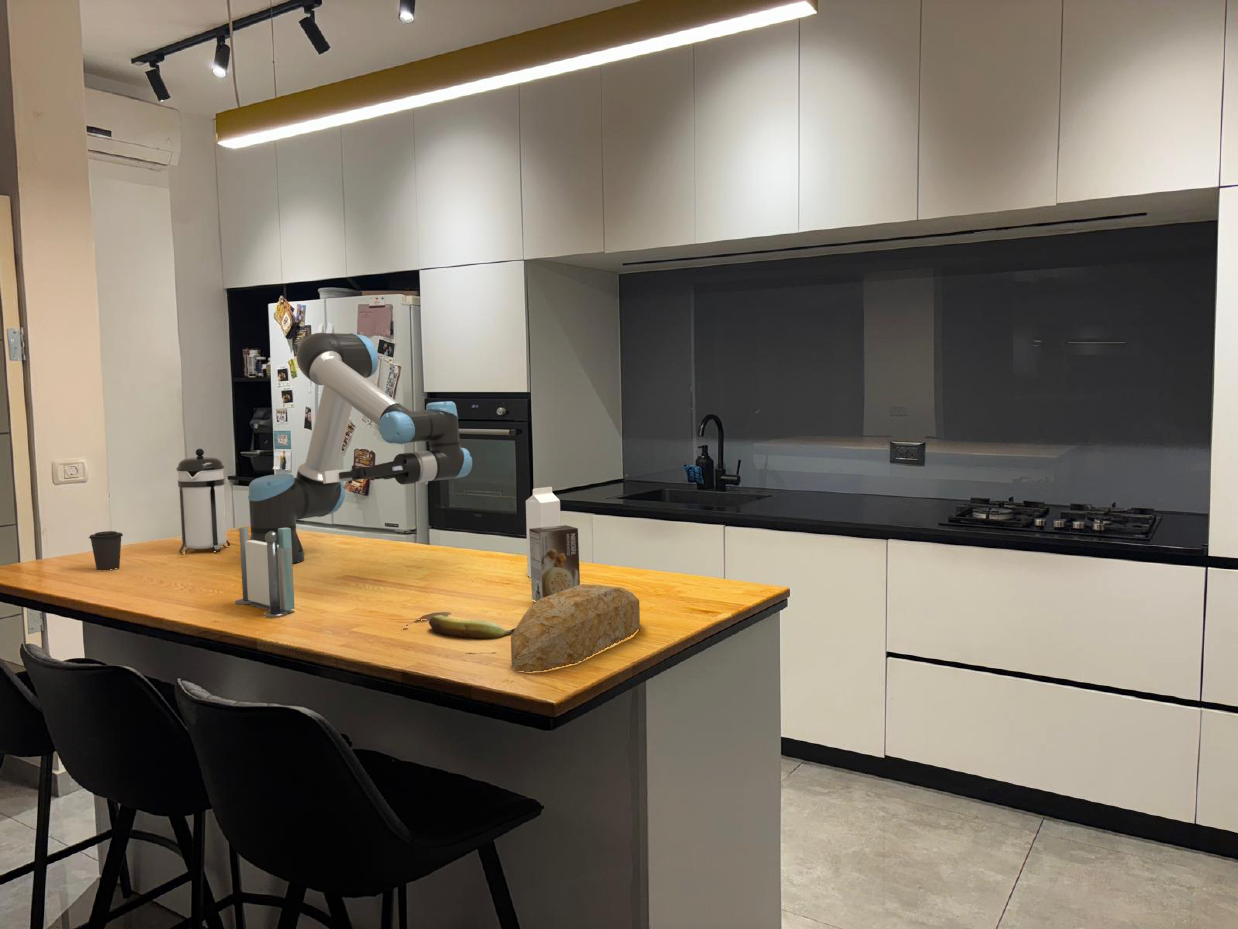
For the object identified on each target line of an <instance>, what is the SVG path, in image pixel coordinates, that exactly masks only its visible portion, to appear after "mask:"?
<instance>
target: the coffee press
mask: <svg viewBox="0 0 1238 929" xmlns="http://www.w3.org/2000/svg"><path fill="white" fill-rule="evenodd" d="M204 453H205V451H204V450H203V448H198V449H196V450H195V455H196V457H189V458H184V459H182V460H181V461H180V462H178V465H177V467H176V468H175V469H176V472H177V477H178V480H177V487H178V493H179V496H178V497H179V510H180V526H181V542H182V545H181V547H180V548H179V550H178V553H179V554H180V553H183V550H184V548H185V550H184V551H185V552H187V553H188V551H190V550H203V549H209V550H210V549H211V550H212V552H213V551H216V552H221V549H220V547H221V546H222V547H224V548H226V546H230V547H231V543H230V542H229V540H227V539H228V538H227V536H228V534H227V520H226V519H227V516H226V514H227V513H226V500H225V499H226V498H225V484H226V483H225V482H226V481H225V477H224V470H225V465H224V464H223V461H222V460H220V459H219V458H217V457H211V456H210V457H209V456H204ZM226 544H227V545H226Z"/></svg>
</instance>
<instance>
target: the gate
mask: <svg viewBox="0 0 1238 929" xmlns="http://www.w3.org/2000/svg"><path fill="white" fill-rule="evenodd" d="M238 530H239V548H240V551H239V552H240V567H241V569H240V570H241V585H242V586H241V588H242V599H243V600H244V601H247V600H250V601H254V602H258V603H261V604H265V605H269V606H270V598H269V578H268V558H267V543H266V542H261V541H255V540H250V537H249V527H247V526H245V527H239V528H238ZM249 540H250V541H249ZM278 544H279V545H277V551H278V572H279V593H280V609H284V610H294V609H295V607H296V606H295V592H294V591H295V590H294V589H295V587H294V570H293V569H294V568H293V564H292V544H291V528H279V529H278Z"/></svg>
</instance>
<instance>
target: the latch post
mask: <svg viewBox="0 0 1238 929" xmlns="http://www.w3.org/2000/svg"><path fill="white" fill-rule="evenodd" d="M265 540H266V542H267V558H268V578H269V598H270V611H268V612H265V613H263V615H264V616H266V617H265V618H268V617H275V618H280V617H279V616H282V617H284V616H287V615H288V614H287V612H286V611H280V593H279V572H278V551H277V541H278V534H277V533H276V532H273V531H271V532H268V533H267V534H266V535H265ZM264 616H263V617H264Z"/></svg>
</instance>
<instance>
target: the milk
mask: <svg viewBox="0 0 1238 929" xmlns="http://www.w3.org/2000/svg"><path fill="white" fill-rule="evenodd" d="M525 515H526V516H525V518H526V519H525V521H526V524H525V525H526V555H527V556H526V557H527V558H526V562H527V567H526V568H527V577H528V576H529V577H531V560H530V533H529V529H531V528H541V527H552V526H561V501H560V498H558V497H557V496H556V495H555V494H554V493H553V487H552V486H546V487H536V488H533V489H532V495H531V496H530V497H528V498H527V499H526V500H525ZM529 577H528V578H529Z"/></svg>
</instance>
